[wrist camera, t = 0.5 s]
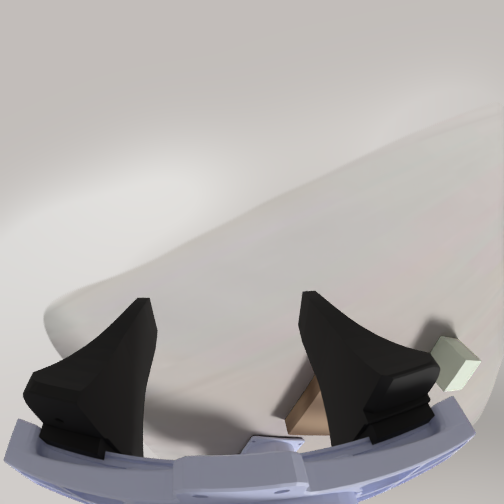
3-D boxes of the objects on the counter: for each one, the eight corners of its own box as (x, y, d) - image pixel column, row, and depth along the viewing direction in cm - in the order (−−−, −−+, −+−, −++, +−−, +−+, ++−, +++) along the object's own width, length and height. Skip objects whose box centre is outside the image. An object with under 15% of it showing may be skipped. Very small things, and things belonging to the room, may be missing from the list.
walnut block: (356, 419, 33) (363, 433, 30) (284, 417, 30) (288, 434, 28) (402, 359, 29) (413, 372, 27) (327, 348, 27) (336, 365, 25)
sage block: (440, 366, 31) (461, 389, 25) (421, 365, 30) (443, 391, 24) (457, 338, 30) (481, 360, 24) (440, 335, 29) (466, 360, 23)
